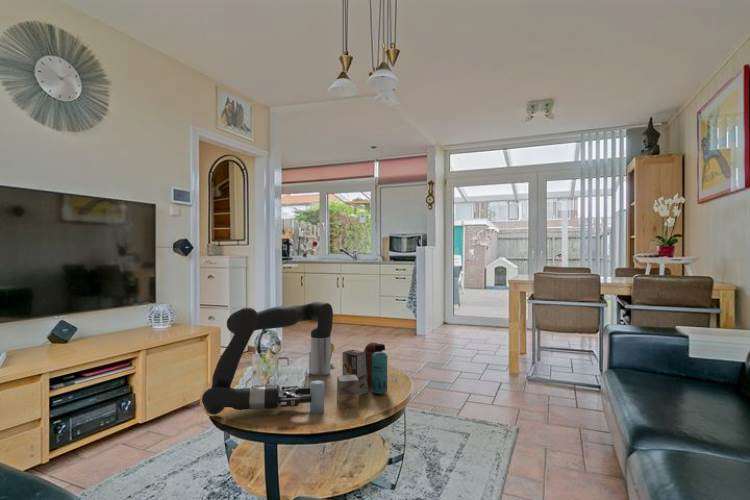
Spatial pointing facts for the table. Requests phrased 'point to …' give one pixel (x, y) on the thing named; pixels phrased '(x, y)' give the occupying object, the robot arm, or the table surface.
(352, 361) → the coffee box
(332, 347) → the plant pot
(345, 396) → the tower base
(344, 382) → the tower top
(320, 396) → the dowel
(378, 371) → the beverage bottle
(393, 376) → the table surface
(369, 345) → the wooden figurine
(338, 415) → the table surface
